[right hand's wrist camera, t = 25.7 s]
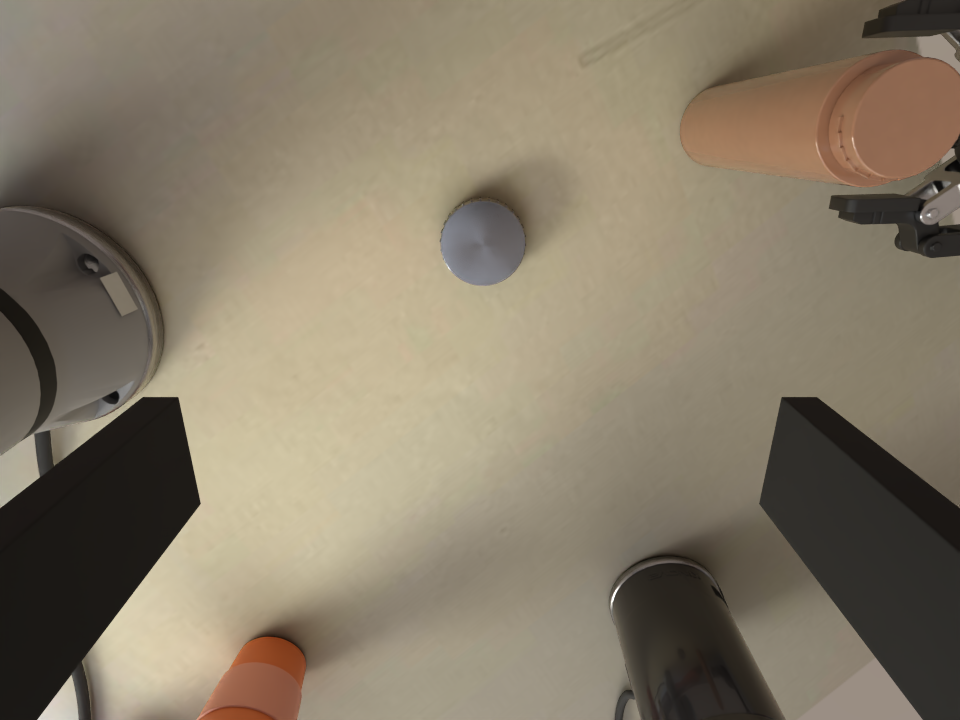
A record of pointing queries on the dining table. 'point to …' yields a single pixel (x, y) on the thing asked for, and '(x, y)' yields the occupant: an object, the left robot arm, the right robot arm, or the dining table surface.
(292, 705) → the cup with straw
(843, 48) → the dining table surface
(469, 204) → the lid
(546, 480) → the dining table surface
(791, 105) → the jar
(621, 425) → the dining table surface
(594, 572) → the dining table surface
